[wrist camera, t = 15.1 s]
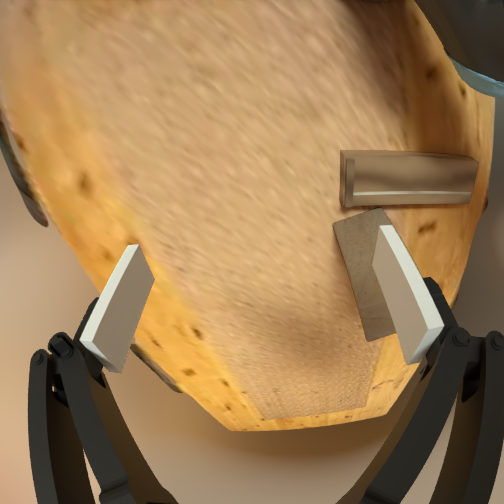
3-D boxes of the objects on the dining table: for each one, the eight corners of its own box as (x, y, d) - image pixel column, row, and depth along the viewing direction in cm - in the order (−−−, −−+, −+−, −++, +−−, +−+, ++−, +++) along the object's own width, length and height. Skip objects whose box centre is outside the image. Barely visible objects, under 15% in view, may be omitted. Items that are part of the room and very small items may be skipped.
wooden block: (388, 245, 52) (424, 323, 36) (344, 260, 55) (366, 343, 39) (381, 205, 46) (427, 283, 30) (331, 222, 49) (358, 307, 33)
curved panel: (340, 150, 40) (346, 157, 38) (471, 157, 37) (481, 164, 35) (339, 199, 46) (344, 209, 43) (463, 197, 43) (471, 206, 40)
